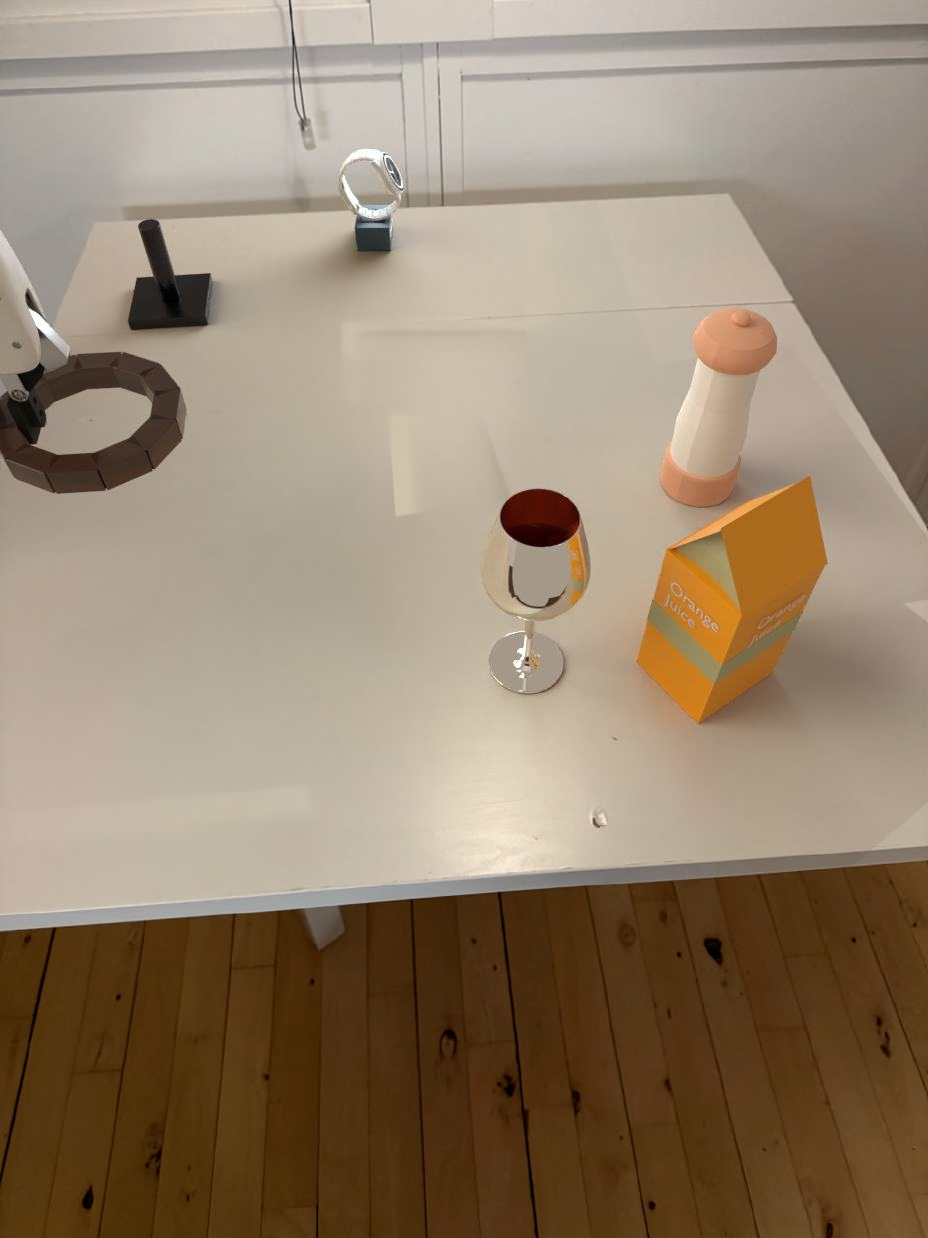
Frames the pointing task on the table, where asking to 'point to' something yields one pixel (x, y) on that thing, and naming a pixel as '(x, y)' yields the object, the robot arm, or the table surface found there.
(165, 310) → the post
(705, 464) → the pepper shaker
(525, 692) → the wineglass
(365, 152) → the watch
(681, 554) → the orange juice
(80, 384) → the ring
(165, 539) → the table surface
